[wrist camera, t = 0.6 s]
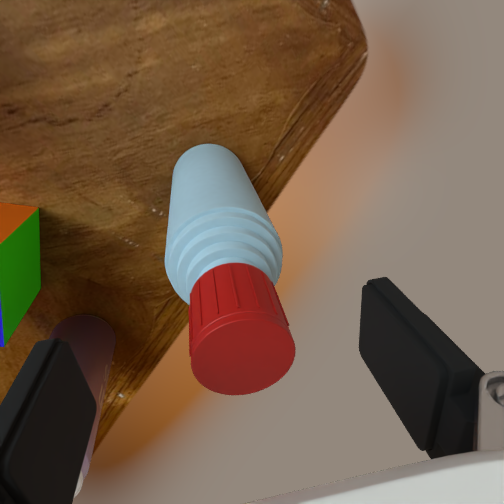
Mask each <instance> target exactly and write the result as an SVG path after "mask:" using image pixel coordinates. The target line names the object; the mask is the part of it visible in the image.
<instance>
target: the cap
mask: <svg viewBox="0 0 504 504" xmlns="http://www.w3.org/2000/svg"><path fill="white" fill-rule="evenodd" d="M288 326H289V323H288V321H287V318H286V316H285V313H284V311H283V308H282V306H281V303H280V300H279V297H278V295H277V292H276V290H275V287H274V284H273V282H272V281H270V279H269V277H268V276H267V275H266V274H265V273H264V272H263V271H262V270H260V269H259V268H257V267H255V266H252V265H249V264H245V263H238V262H237V263H226V264H222V265H218V266H216V267H214V268H212V269H210V270H208V271H207V272H205V273H204V274H203V275H202V276H201V277H200V278H199V279H198V280H197V281H196V283H195V284H194V286H193V288H192V290H191V293H190V307H189V347H190V349H189V353H190V356H191V367H192V371H193V374H194V376H195V377H196V379H197V380H198V381H199V382H200V383H201V384H202V385H203V386H204V387H206V388H208V389H209V390H211V391H214V392H217V393H221V394H225V395H244V394H250V393H254V392H257V391H260V390H263V389H265V388H267V387H269V386H271V385H273V384H274V383H276V382H277V381H279V380H280V379H281V378H282V377H283V376H284V375H285V374H286V373H287V372H288V370H289V369H290V367H291V365H292V363H293V361H294V357H295V344H294V341H293V338H292V335H291V333H290V330H289V327H288Z"/></svg>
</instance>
